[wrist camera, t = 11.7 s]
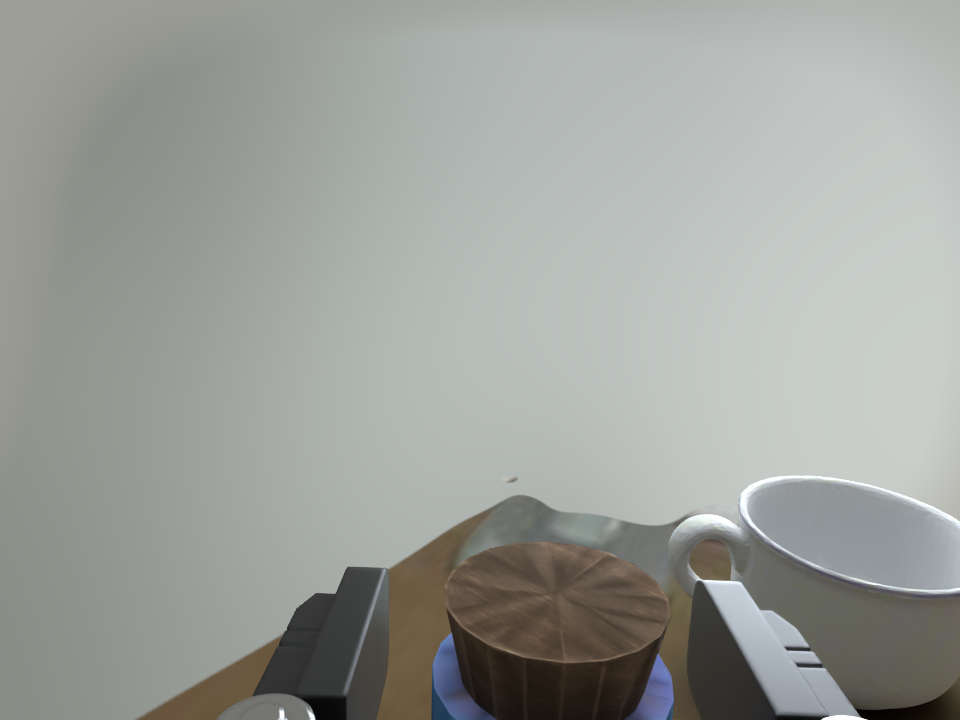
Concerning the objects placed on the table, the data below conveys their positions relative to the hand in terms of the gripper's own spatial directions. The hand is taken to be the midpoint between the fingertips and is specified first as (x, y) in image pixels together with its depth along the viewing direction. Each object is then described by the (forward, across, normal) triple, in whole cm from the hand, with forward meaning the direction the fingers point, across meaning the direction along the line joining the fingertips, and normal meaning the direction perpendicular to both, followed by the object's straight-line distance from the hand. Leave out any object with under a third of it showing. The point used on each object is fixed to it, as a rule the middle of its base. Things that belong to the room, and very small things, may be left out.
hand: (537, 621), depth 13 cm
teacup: (+20, -15, +14) cm, 29 cm away
